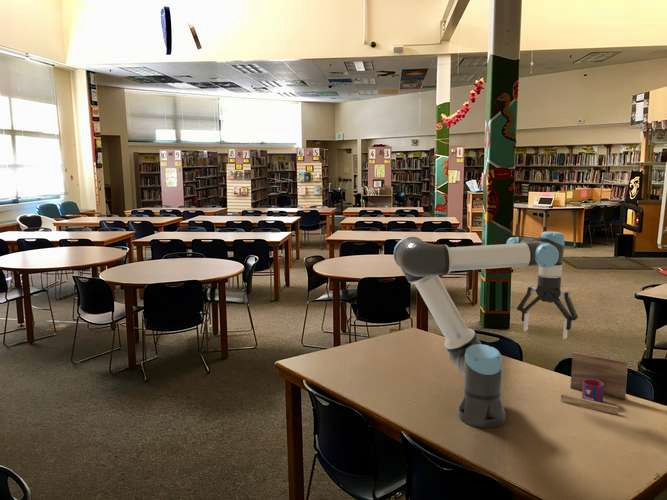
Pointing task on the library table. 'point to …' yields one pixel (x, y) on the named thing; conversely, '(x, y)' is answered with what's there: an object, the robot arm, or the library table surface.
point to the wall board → (600, 373)
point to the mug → (593, 390)
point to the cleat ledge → (589, 404)
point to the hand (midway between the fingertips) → (544, 334)
